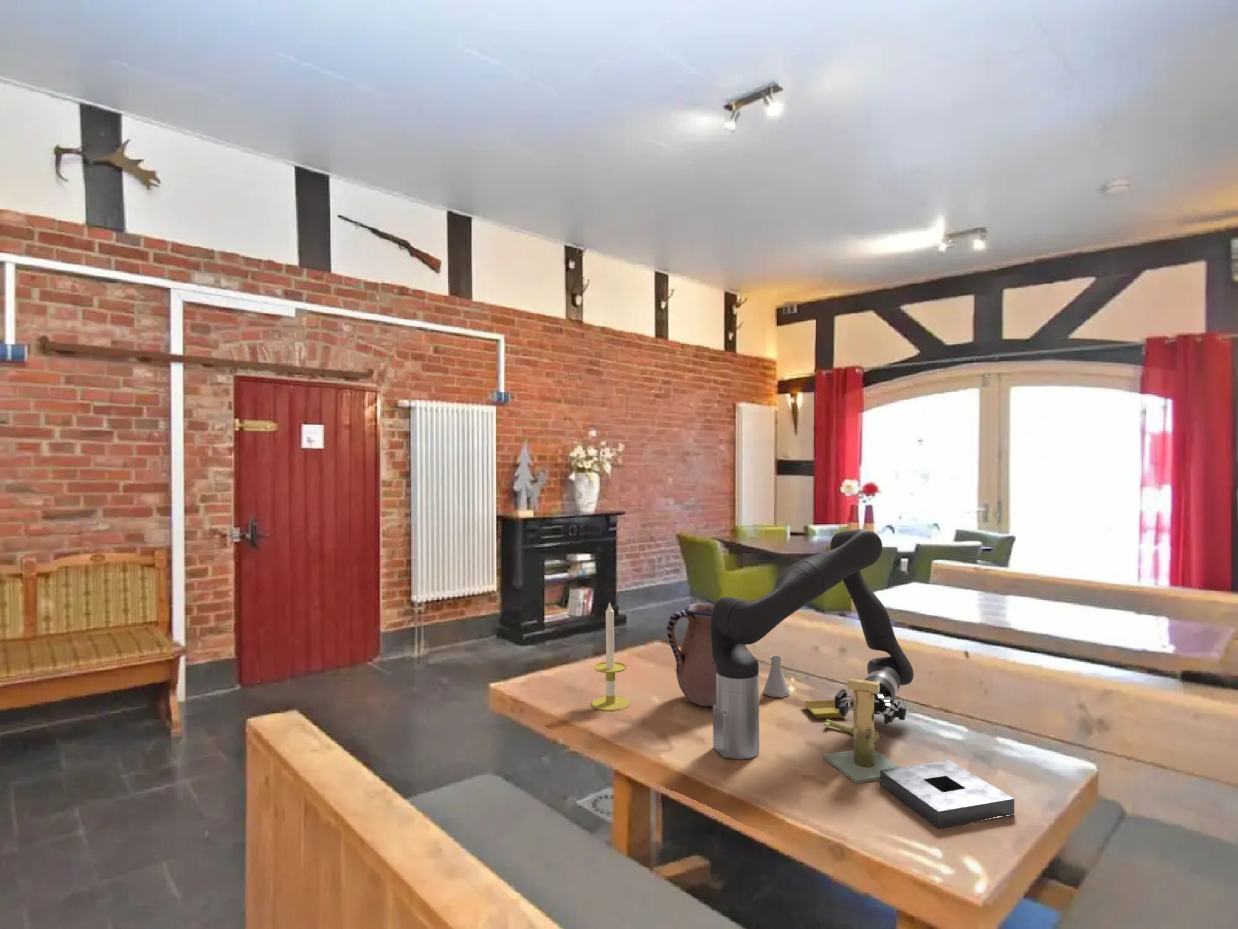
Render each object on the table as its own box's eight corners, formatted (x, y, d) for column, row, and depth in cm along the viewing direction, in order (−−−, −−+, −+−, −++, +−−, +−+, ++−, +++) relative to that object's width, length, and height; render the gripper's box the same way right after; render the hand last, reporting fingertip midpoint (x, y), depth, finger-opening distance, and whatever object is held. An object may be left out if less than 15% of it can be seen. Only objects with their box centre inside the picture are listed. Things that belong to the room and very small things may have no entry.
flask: (785, 700, 179) (784, 662, 179) (758, 695, 183) (758, 658, 183) (793, 692, 185) (793, 655, 185) (767, 687, 189) (767, 651, 189)
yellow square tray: (814, 722, 165) (814, 713, 165) (802, 709, 174) (802, 700, 174) (848, 720, 166) (848, 712, 166) (835, 707, 174) (834, 699, 174)
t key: (847, 763, 140) (846, 681, 140) (851, 756, 144) (850, 676, 144) (877, 770, 137) (877, 686, 137) (881, 762, 141) (880, 680, 141)
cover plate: (938, 829, 117) (938, 811, 117) (880, 785, 132) (880, 770, 132) (1014, 815, 121) (1014, 798, 121) (949, 775, 136) (949, 760, 136)
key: (824, 727, 162) (824, 718, 162) (879, 734, 158) (879, 725, 157) (821, 739, 155) (821, 729, 155) (879, 747, 151) (879, 737, 151)
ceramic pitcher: (758, 704, 176) (757, 608, 176) (696, 722, 164) (695, 619, 164) (712, 685, 191) (711, 596, 190) (652, 701, 179) (651, 607, 179)
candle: (626, 712, 172) (625, 606, 171) (587, 710, 173) (586, 605, 173) (632, 698, 181) (631, 597, 181) (596, 696, 183) (594, 596, 183)
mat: (856, 783, 133) (856, 780, 133) (822, 757, 145) (822, 754, 145) (908, 775, 136) (908, 772, 136) (871, 750, 148) (871, 748, 148)
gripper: (845, 670, 158) (829, 691, 144) (911, 680, 151) (901, 703, 137) (845, 702, 158) (829, 727, 144) (912, 713, 151) (901, 740, 137)
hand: (864, 715), depth 140 cm, fingers open, 8 cm apart
